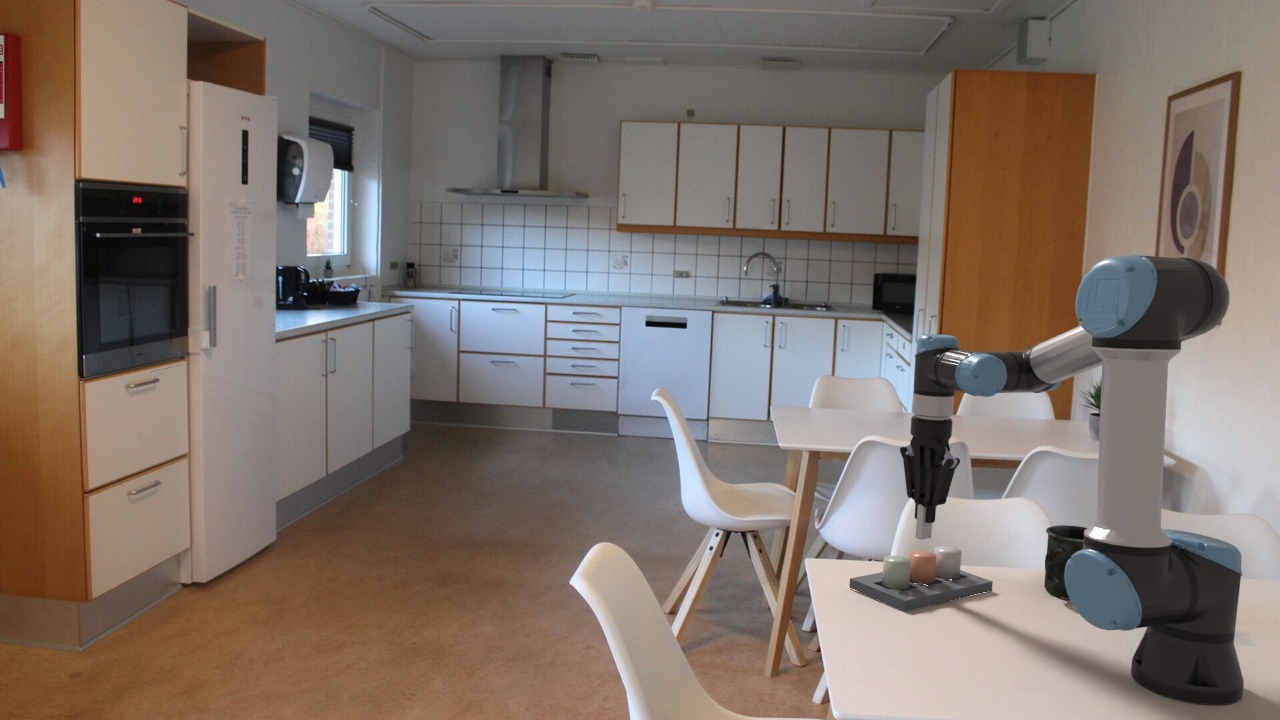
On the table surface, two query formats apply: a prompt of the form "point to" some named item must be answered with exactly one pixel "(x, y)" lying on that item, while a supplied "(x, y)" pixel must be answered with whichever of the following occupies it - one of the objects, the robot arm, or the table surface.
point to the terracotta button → (922, 567)
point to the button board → (921, 590)
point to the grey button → (948, 562)
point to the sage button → (896, 572)
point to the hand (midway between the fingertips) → (923, 537)
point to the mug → (1061, 556)
